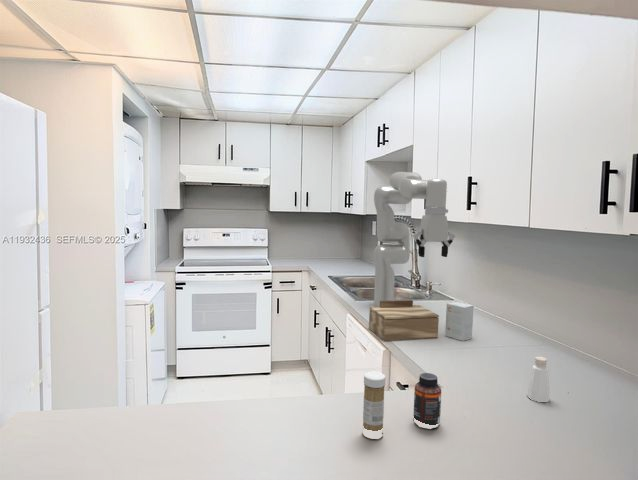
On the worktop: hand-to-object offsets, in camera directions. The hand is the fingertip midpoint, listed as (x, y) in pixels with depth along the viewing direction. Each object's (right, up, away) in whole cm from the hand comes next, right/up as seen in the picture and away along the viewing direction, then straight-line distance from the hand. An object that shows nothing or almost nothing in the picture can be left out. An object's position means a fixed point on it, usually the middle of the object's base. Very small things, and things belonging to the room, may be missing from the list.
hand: (432, 256), depth 159 cm
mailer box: (-11, -31, +5) cm, 33 cm away
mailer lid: (-11, -22, +4) cm, 25 cm away
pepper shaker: (+14, -36, -49) cm, 62 cm away
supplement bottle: (-19, -36, -64) cm, 76 cm away
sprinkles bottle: (-32, -36, -69) cm, 84 cm away
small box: (+11, -32, +2) cm, 33 cm away
